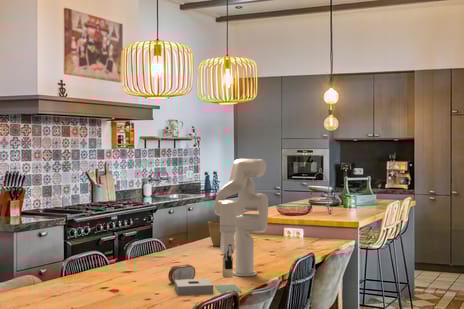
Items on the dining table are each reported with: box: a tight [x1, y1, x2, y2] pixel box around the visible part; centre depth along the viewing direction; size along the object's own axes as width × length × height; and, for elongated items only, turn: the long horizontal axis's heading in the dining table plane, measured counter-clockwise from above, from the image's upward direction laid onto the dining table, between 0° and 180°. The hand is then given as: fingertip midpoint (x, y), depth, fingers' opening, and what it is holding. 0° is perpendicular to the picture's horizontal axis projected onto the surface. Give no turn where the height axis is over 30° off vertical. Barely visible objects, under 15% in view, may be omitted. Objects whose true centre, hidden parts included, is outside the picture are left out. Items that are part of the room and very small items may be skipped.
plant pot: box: [207, 220, 221, 247], centre depth 410 cm, size 15×15×16 cm
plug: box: [222, 256, 234, 279], centre depth 283 cm, size 4×4×9 cm
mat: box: [214, 284, 242, 294], centre depth 284 cm, size 14×10×1 cm
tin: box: [167, 263, 196, 284], centre depth 299 cm, size 15×3×8 cm, turn 131°
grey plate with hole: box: [174, 278, 214, 295], centre depth 280 cm, size 14×16×4 cm
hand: (227, 267), depth 283 cm, fingers closed on plug, 4 cm apart
